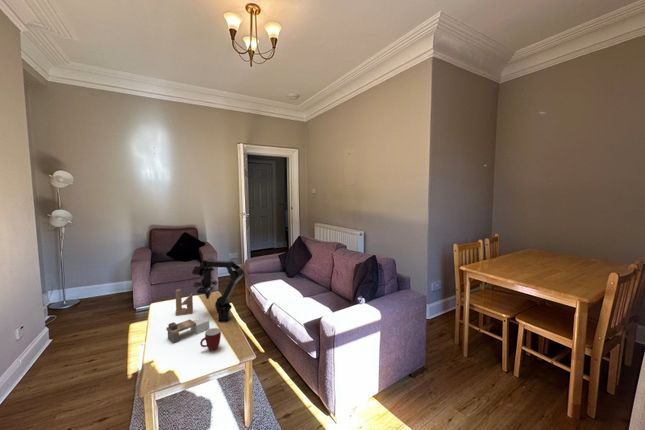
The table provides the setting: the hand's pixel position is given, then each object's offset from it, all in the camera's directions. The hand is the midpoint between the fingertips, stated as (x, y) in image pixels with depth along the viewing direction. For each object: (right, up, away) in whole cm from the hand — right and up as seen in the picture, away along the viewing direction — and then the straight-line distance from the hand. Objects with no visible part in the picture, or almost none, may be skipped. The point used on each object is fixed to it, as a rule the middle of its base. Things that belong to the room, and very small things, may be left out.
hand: (207, 298), depth 187 cm
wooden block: (-19, -13, +5) cm, 24 cm away
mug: (+18, -17, -38) cm, 45 cm away
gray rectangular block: (-2, -15, -21) cm, 26 cm away
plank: (-5, -10, -25) cm, 28 cm away
